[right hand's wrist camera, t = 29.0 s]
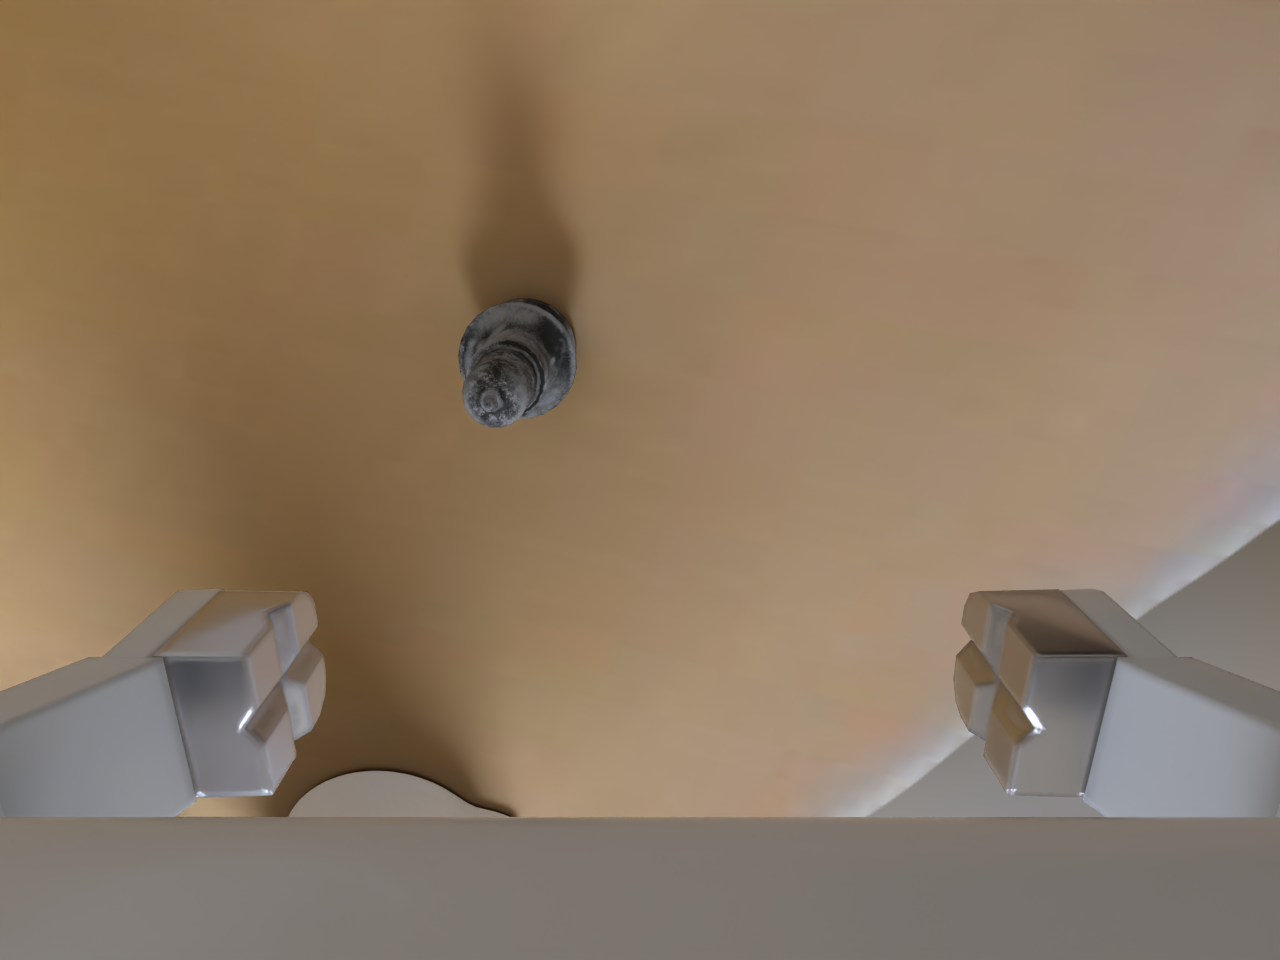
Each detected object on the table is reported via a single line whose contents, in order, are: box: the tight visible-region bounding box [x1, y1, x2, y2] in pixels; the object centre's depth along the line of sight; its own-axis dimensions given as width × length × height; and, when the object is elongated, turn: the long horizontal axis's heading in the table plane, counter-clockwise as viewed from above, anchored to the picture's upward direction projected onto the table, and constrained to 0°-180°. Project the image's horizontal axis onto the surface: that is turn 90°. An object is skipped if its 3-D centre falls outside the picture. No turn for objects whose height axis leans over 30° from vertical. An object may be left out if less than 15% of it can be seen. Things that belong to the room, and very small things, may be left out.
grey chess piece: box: [458, 299, 577, 428], centre depth 38 cm, size 6×6×12 cm
